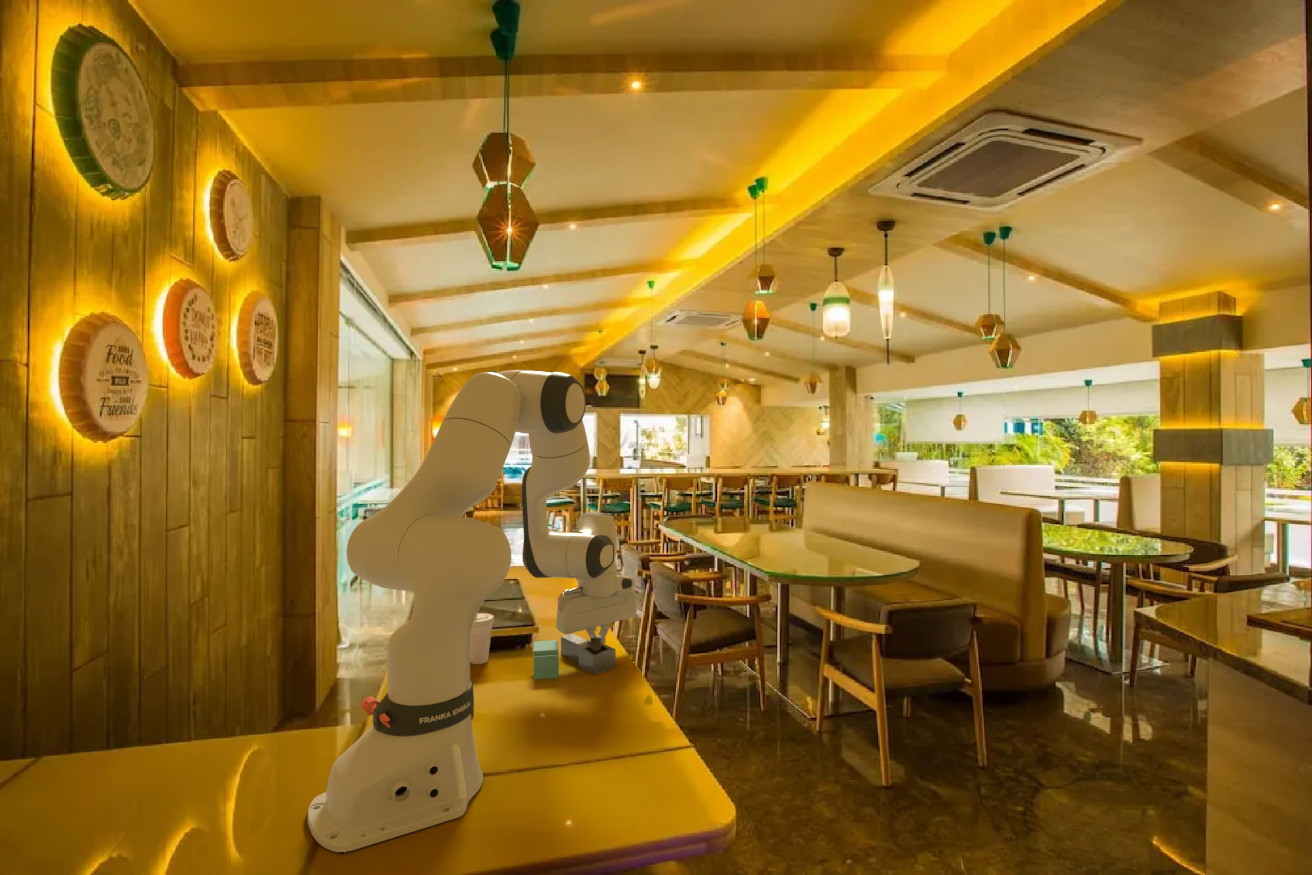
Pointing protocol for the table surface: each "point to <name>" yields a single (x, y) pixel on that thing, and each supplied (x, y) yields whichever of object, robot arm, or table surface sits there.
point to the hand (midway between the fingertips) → (597, 644)
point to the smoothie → (481, 638)
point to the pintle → (595, 644)
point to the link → (588, 654)
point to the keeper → (546, 659)
